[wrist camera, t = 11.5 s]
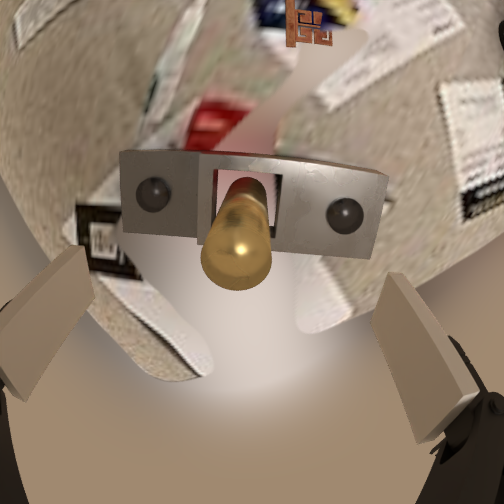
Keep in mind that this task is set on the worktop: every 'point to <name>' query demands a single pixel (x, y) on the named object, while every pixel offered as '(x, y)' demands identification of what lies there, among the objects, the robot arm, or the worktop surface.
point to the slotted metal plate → (287, 209)
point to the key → (293, 28)
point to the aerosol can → (501, 32)
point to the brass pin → (239, 238)
